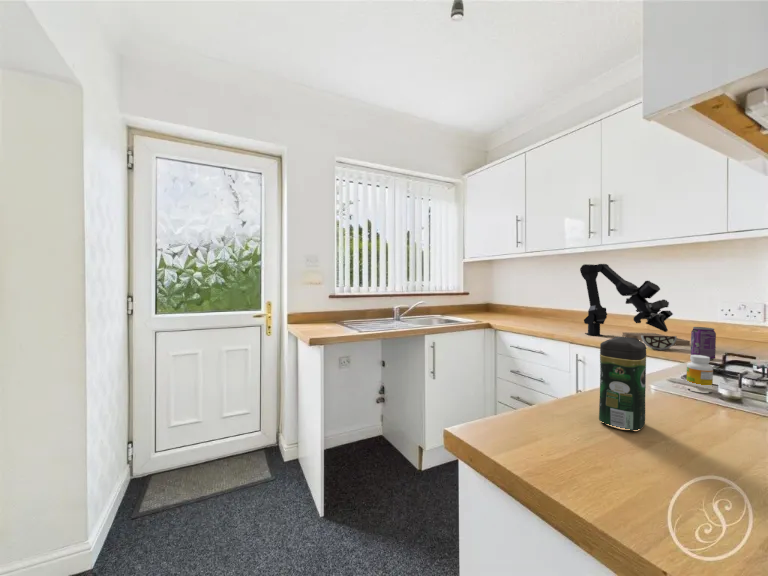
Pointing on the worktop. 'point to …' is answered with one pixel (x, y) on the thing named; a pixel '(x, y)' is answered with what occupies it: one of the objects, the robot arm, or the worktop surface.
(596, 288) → the robot arm
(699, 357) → the supplement bottle
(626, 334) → the walnut chopping board
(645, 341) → the food container
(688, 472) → the worktop surface
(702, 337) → the beverage can
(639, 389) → the coffee jar
